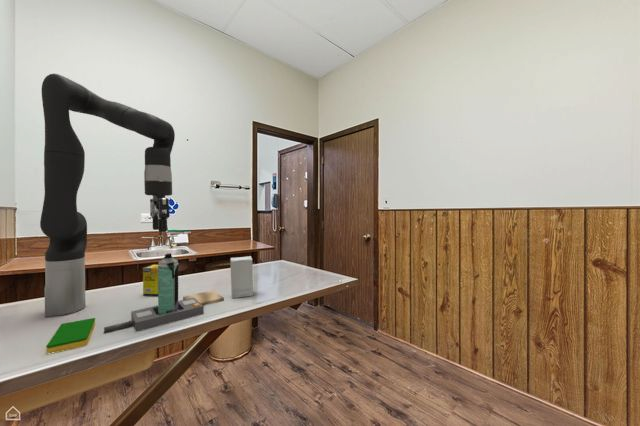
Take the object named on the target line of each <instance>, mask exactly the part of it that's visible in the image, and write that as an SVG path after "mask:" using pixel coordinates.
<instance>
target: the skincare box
mask: <svg viewBox="0 0 640 426" xmlns="http://www.w3.org/2000/svg"><path fill="white" fill-rule="evenodd" d="M253 274H254V272H253V258H252V256H251V255H249V256H248V255H247V256H240V257H238V256H237V257H230V285H231V288H230V289H231V291H230V292H231V299H237V298H238V299H239V298H244V297H251V296H254V282H253V281H254V280H253V278H254V275H253Z"/></svg>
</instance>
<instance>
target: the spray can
mask: <svg viewBox="0 0 640 426" xmlns="http://www.w3.org/2000/svg"><path fill="white" fill-rule="evenodd" d="M157 265H158V296H157V303H158V304H157V306H158V315H162V314H167V313H171V312H175V311H179V310H178V301H179V260H177V259H176V258H174V256H172V253H170V252H169V253H165V254H164V257H163V258H162V259H161V260H160V261H158V264H157ZM158 315H157V316H158Z"/></svg>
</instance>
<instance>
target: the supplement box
mask: <svg viewBox="0 0 640 426" xmlns="http://www.w3.org/2000/svg"><path fill="white" fill-rule="evenodd" d="M142 296H145V297H146V296H147V297H148V296H149V297H158V264H151V265H148V266H146V267H143V268H142Z"/></svg>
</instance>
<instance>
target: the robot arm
mask: <svg viewBox="0 0 640 426" xmlns="http://www.w3.org/2000/svg"><path fill="white" fill-rule="evenodd" d="M41 101H42V109H43V118H44V148H43V149H44V151H43V167H44V169H43V172H44V174H43V175H44V177H43V183H44V195H43V196H44V197H43V205H42V211H41V215H40V221H39V222H40V223H39V227H40V229H41V232H42V233H43V234H44V235H45V236H46V237H48V238H49V243H48V244H49V245H48V247H47V250H46V251H45V253H44V265H45V266H44V267H45V269H44V270H45V271H44V275H45V276H44V277H45V282H44V283H45V284H44V318H45V317H50V316H51V317H53V316H54V317H56V316H57V317H58V316H64V315H69V314H72V313H75V312H79V311H81V310H83V309H85V307H86V254H85V253H86V250H87V244H88V242H87V241H88V224H87V222H88V221H87V219H86V217H85V216H84V215H83V214H82V213H81V212H79V211H78V205H77V202H78V201H77V199H78V197H77V196H78V192H79V189H80V186H81V183H82V180H83V178H84V173H85V165H86V164H85V163H86V161H85V159H86V157H85V155H86V153H85V152H86V151H85V149H84V147H83V145H82V142H81V141H80V139H79V137H78V135H77V134H76V132H75V130H74V129H73V126H72V123H71V119H70V118H71V117H70V111H71V112H74V113H80V114H86V115H90V116H95V117H98V118H102V119H103V120H105V121H108V122H109V123H111V124H113V125H116V126H118V127H121V128H123V129H124V130H125V129H126V130H128V131H132V132H135V133H137V134H138V135H141V136H143V137H145V138H149V139H151V140H153V144H152V146H149V147H146V148H145V149H144V171H143V176H144V177H143V178H144V179H143V180H144V181H143V182H144V194H145V195H146V196H152V198H150V200H149V204H150V205H149V206H150V207H149V210H150V214H149V215H150V218H151V219H152V230H154V231H157V230H158V232H160V233H163V232H168V219H169V218H170V203H169V201H170V199H169V198H168V197H169V196H172V195H173V176H172V175H173V174H172V173H173V172H172V167H171V166H172V165H171V154H172V150H173V147H174V142H175V137H176V136H175V135H176V134H175V130H174V127H173V125H172V124H171V123H169V122H168V121H166V120H164V119H161V118H160V117H158V116H156V115H154V114H151V113H147V112H145V111H141V110H138V109H137V108H134V107H131V106H128V105H126V104H123V103H120V102H117V101H113V100H108V99H105V98H103V97H100V96H99V95H98V94H96V93H95V92H92V91H91V90H89V89H88V88H87V87H85V86H84V85H81V84H80V83H78V82H76V81H74V80H73V79H70V78H69V77H65V76H63V75H61V74H58V73H50V74H47V75H46V76H45V77H44V79H43V81H42V84H41ZM166 196H167V198H166Z"/></svg>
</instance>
